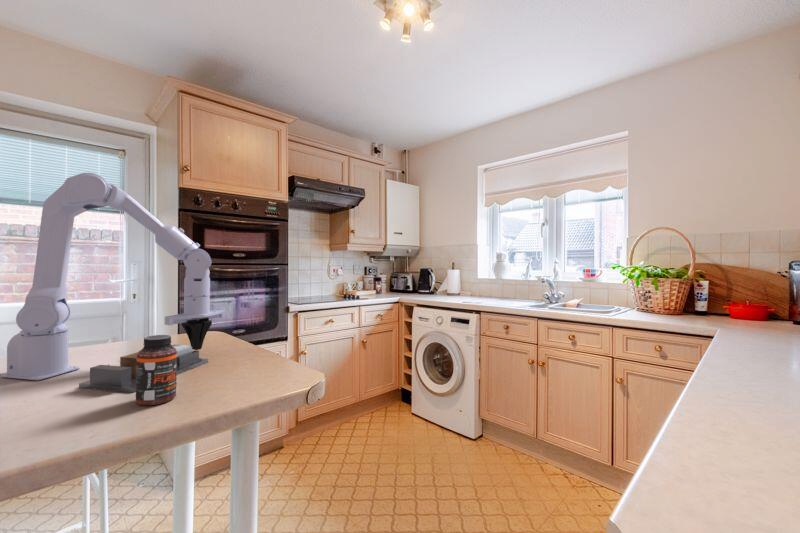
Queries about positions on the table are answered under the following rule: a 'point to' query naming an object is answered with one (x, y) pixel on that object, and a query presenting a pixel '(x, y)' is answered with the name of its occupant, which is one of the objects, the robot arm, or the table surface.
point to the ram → (182, 349)
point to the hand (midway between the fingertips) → (196, 349)
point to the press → (121, 376)
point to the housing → (129, 363)
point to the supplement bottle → (156, 371)
